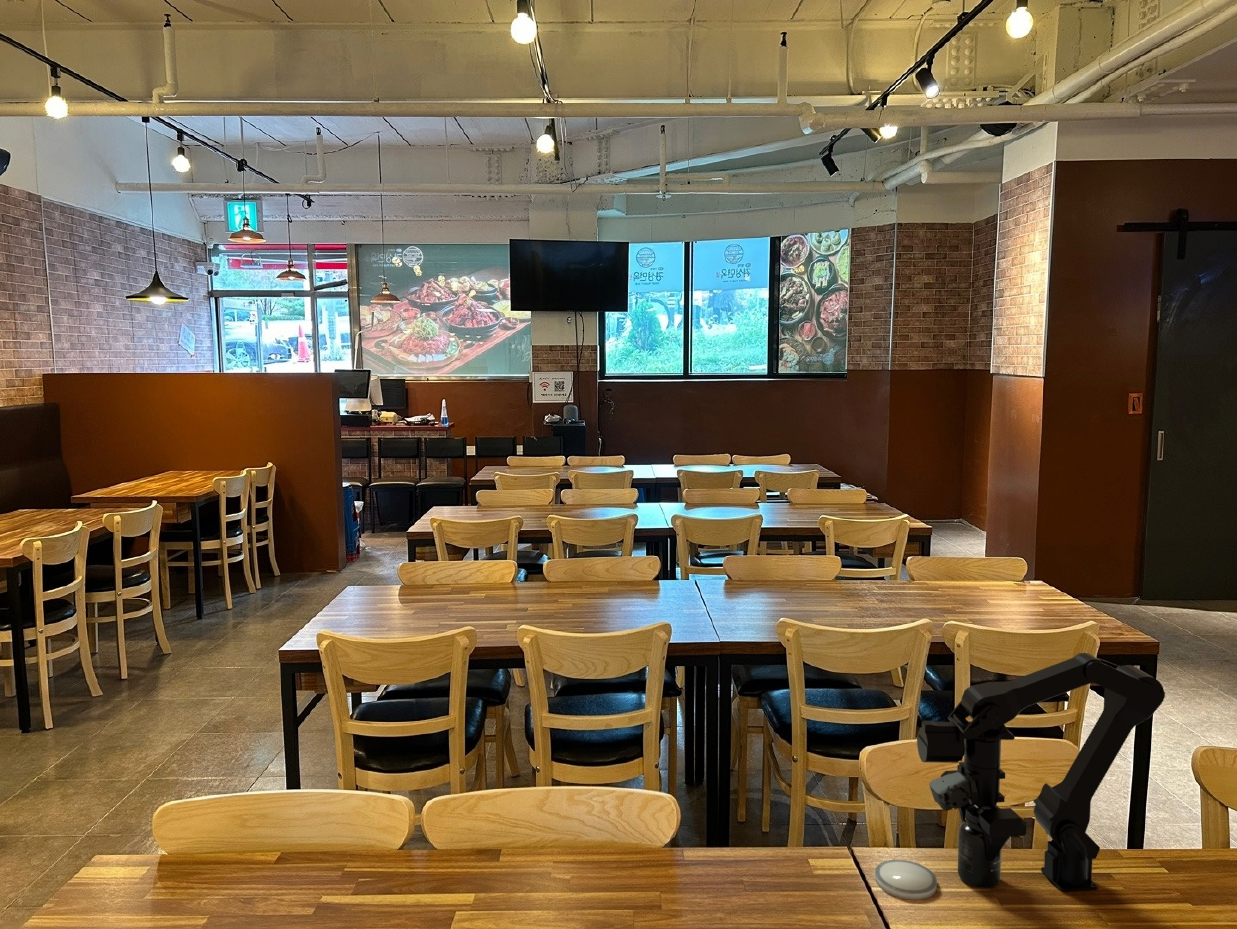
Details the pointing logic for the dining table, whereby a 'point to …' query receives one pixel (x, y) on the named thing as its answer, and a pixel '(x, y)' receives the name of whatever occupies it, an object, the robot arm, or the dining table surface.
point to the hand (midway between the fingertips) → (979, 849)
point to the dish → (905, 879)
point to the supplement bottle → (976, 854)
